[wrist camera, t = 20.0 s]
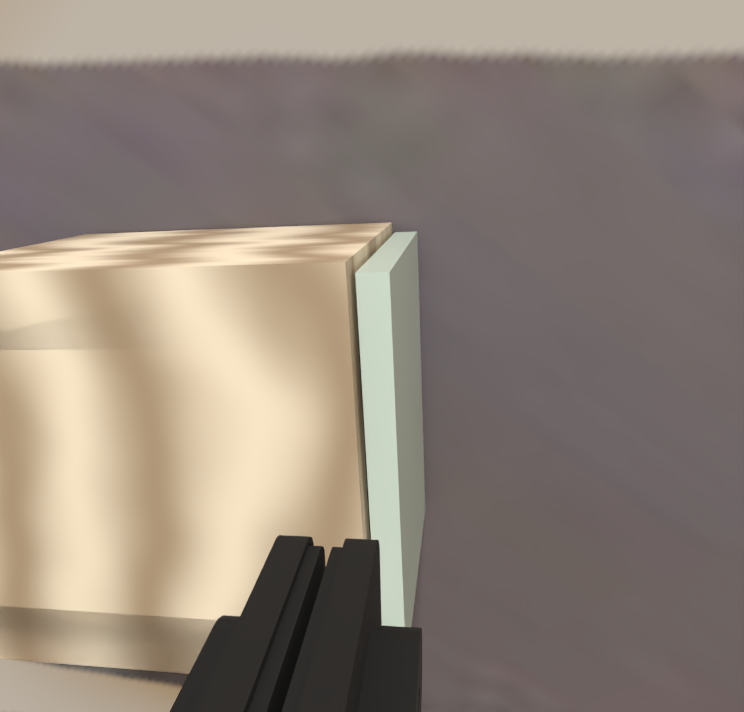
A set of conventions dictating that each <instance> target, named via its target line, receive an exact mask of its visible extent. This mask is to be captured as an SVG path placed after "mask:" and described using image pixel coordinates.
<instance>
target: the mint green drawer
mask: <svg viewBox="0 0 744 712" xmlns="http://www.w3.org/2000/svg"><path fill="white" fill-rule="evenodd" d="M355 278H356V294H357V311H358V328H359V335H358V344H359V360H360V377H361V394H362V411H363V427H364V444H365V461H366V477H367V488H368V496H369V513H370V530H371V539H372V540H379V545H380V580H381V621H382V626H397V627H411V626H412V617H413V609H414V601H415V592H416V584H417V576H418V567H419V559H420V551H421V542H422V534H423V526H424V517H425V483H424V449H423V414H422V379H421V344H420V310H419V275H418V240H417V232H395V233H394V234H393V235H392V236H391V237H390V238H389V239H388V240H387V241H386V242H385V243H384V244H383V245H382V246H381V247H380V248H379V249H378V250H377V251H376V252H375V253H374V254H373V255H372V256H371V257H370V258H369V259H368V260H367V262H366V263H365V264H364V265H363V266H362V267H361V268H360V269H359V270H358V271H357V272H356V273H355Z"/></svg>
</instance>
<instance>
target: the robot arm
mask: <svg viewBox="0 0 744 712" xmlns="http://www.w3.org/2000/svg"><path fill="white" fill-rule="evenodd" d="M421 695H422V629H421V628H413V627H397V626H382V621H381V580H380V545H379V540H372V539H351V538H346V539H345V541H344V544H343V547H332V549H331V551H330V555H329V558H328V561H327V565H325V550H324V547H323V546H314V543H313V539H312V537H308V536H287V535H279V536H277V538H276V540H275V542H274V544H273V546H272V548H271V550H270V553H269V555H268V557H267V559H266V561H265V563H264V566H263V568H262V570H261V572H260V574H259V577H258V579H257V581H256V583H255V585H254V587H253V590H252V592H251V594H250V596H249V598H248V600H247V603H246V605H245V607H244V609H243V611H242V613H241V616H226V615H223V616H221V617H220V618H218V620H217V621H216V623H215V624H214V626H213V628H212V630H211V632H210V634H209V636H208V638H207V640H206V642H205V643H204V645H203V647H202V649H201V651H200V653H199V655H198V657H197V659H196V661H195V663H194V665H193V667H192V669H191V671H190V673H189V675H188V677H187V679H186V681H185V683H184V685H183V687H182V689H181V691H180V693H179V695H178V697H177V699H176V701H175V702H174V704H173V706H172V708H171V710H170V712H421Z"/></svg>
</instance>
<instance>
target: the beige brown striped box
mask: <svg viewBox="0 0 744 712" xmlns="http://www.w3.org/2000/svg"><path fill="white" fill-rule="evenodd" d="M391 236H392V223H367V224H341V225H315V226H288V227H262V228H236V229H210V230H184V231H158V232H132V233H106V234H86V235H80V236H75V237H70V238H65V239H60V240H55V241H50V242H45V243H40V244H35V245H30V246H25V247H20V248H15V249H10V250H5V251H0V659H10V660H23V661H36V662H48V663H61V664H73V665H86V666H99V667H111V668H124V669H137V670H149V671H162V672H174V673H187V674H189V673H190V671H191V669H192V667H193V665H194V663H195V661H196V659H197V657H198V655H199V653H200V651H201V649H202V647H203V645H204V643H205V642H206V640H207V638H208V636H209V634H210V632H211V630H212V628H213V626H214V624H215V623H216V621H217V620H218V618H220V617H221V616H223V615H226V616H241V613H242V611H243V609H244V607H245V605H246V603H247V600H248V598H249V596H250V594H251V592H252V590H253V587H254V585H255V583H256V581H257V579H258V577H259V574H260V572H261V570H262V568H263V566H264V563H265V561H266V559H267V557H268V555H269V553H270V550H271V548H272V546H273V544H274V542H275V540H276V538H277V536H279V535H287V536H308V537H312V539H313V543H314V546H323V547H324V550H325V565H327V561H328V558H329V555H330V551H331V549H332V547H343V544H344V541H345V539H346V538H351V539H371V530H370V513H369V496H368V488H367V477H366V461H365V444H364V427H363V411H362V394H361V377H360V360H359V344H358V335H359V328H358V311H357V294H356V278H355V273H356V272H357V271H358V270H359V269H360V268H361V267H362V266H363V265H364V264H365V263H366V262H367V260H368V259H369V258H370V257H371V256H372V255H373V254H374V253H375V252H376V251H377V250H378V249H379V248H380V247H381V246H382V245H383V244H384V243H385V242H386V241H387V240H388V239H389V238H390V237H391Z"/></svg>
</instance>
